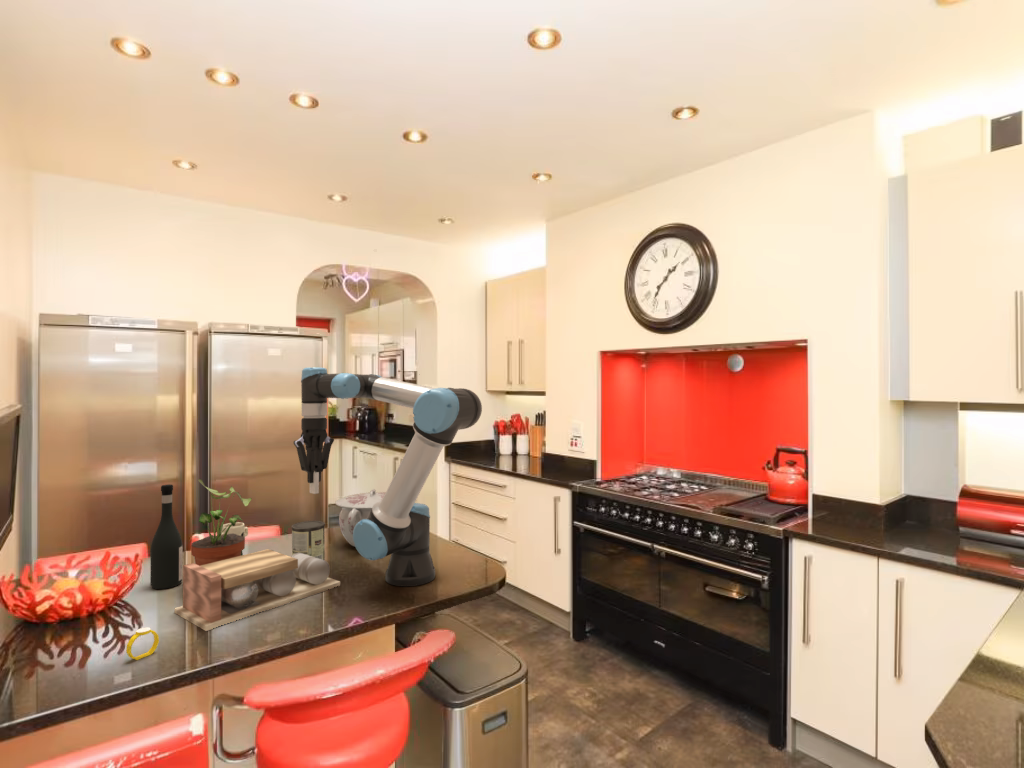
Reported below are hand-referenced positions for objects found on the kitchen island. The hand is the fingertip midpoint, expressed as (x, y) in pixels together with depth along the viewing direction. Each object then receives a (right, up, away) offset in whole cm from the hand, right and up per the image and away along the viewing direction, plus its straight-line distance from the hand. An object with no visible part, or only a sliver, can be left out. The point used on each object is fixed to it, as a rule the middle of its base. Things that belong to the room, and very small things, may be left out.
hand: (314, 492), depth 168 cm
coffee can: (-6, -27, +10) cm, 29 cm away
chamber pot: (+8, -27, +37) cm, 47 cm away
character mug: (-33, -27, +14) cm, 45 cm away
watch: (-19, -26, -49) cm, 59 cm away
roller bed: (-8, -26, -16) cm, 32 cm away
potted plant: (-26, -27, -6) cm, 37 cm away
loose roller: (-13, -25, -23) cm, 36 cm away
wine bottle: (-42, -27, -6) cm, 50 cm away
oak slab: (-11, -18, -20) cm, 29 cm away
